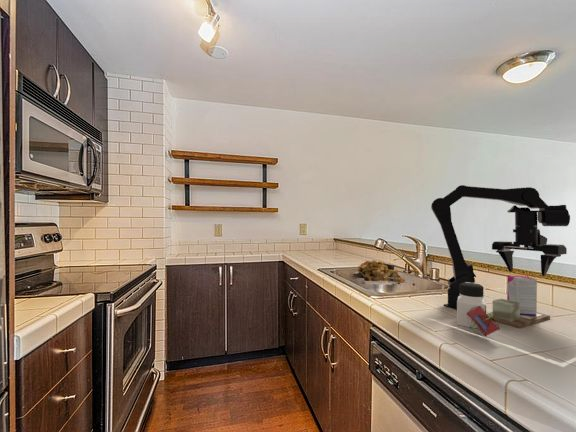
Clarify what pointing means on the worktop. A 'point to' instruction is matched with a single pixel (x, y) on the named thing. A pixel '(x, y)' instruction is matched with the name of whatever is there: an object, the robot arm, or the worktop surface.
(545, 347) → the worktop surface
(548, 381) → the worktop surface
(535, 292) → the supplement box
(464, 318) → the medicine bottle
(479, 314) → the geometric puzzle
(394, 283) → the brown irregular low mound
